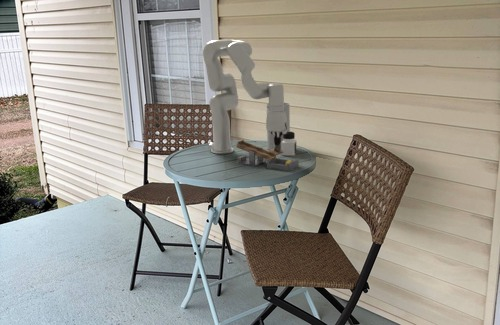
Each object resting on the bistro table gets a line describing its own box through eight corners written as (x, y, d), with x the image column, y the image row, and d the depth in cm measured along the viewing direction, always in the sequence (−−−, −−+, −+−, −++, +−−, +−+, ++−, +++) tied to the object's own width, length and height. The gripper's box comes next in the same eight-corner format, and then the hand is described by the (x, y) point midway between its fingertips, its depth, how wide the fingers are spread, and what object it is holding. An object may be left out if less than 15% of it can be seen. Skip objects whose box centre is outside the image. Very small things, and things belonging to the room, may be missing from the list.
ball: (291, 163, 243) (289, 169, 245) (295, 161, 246) (292, 167, 247) (285, 159, 244) (283, 165, 246) (289, 158, 247) (286, 164, 249)
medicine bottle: (294, 155, 269) (294, 133, 266) (281, 155, 270) (281, 133, 267) (296, 152, 275) (296, 130, 272) (283, 152, 277) (283, 130, 274)
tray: (266, 167, 248) (266, 161, 247) (276, 163, 256) (276, 156, 255) (288, 171, 241) (288, 164, 240) (298, 166, 249) (298, 159, 248)
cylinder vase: (294, 147, 286) (294, 103, 279) (280, 152, 277) (279, 106, 270) (276, 145, 294) (276, 101, 287) (262, 149, 285) (261, 104, 278)
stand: (235, 163, 258) (234, 149, 256) (245, 159, 265) (244, 145, 263) (255, 166, 252) (255, 152, 250) (265, 161, 259) (264, 148, 257)
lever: (236, 147, 257) (237, 140, 256) (252, 141, 270) (254, 134, 268) (269, 160, 248) (270, 153, 247) (285, 153, 261) (286, 146, 259)
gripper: (259, 109, 256) (261, 144, 260) (285, 110, 248) (286, 147, 252) (267, 106, 262) (268, 141, 266) (293, 108, 254) (294, 144, 258)
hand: (277, 144), depth 259 cm, fingers closed
